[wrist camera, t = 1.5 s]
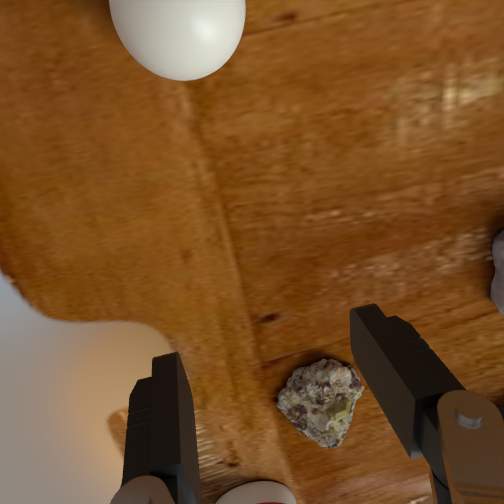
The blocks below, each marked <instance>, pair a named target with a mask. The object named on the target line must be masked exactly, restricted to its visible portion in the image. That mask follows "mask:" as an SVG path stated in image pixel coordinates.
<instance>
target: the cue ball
mask: <svg viewBox="0 0 504 504" xmlns="http://www.w3.org/2000/svg"><path fill="white" fill-rule="evenodd" d="M109 6H110V12H111V17H112V21H113V24H114V26H115V29H116V32H117V34H118V36H119V38H120V40H121V41H122V43H123V45H124V46H125V48H126V49H127V50H128V52H129V53H130V54H131V55H132V56H133V57H134V58H135V60H136V61H137V62H139V63H140V64H141V65H142V66H144V67H145V68H146V69H148V70H149V71H151V72H153V73H155V74H157V75H159V76H161V77H164V78H168V79H172V80H180V81H188V80H195V79H199V78H203V77H205V76H207V75H210V74H211V73H213V72H215V71H216V70H218V69H219V68H220V67H221V66H223V65H224V64H225V62H226V61H227V60H228V59H229V58H230V57H231V55H232V54H233V52H234V51H235V49H236V47H237V45H238V43H239V41H240V38H241V36H242V32H243V28H244V22H245V9H246V6H245V0H109Z"/></svg>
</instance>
